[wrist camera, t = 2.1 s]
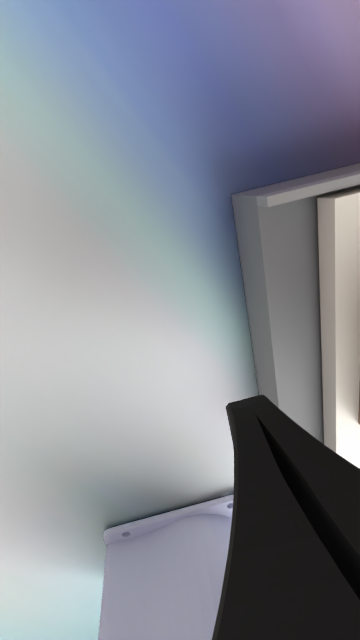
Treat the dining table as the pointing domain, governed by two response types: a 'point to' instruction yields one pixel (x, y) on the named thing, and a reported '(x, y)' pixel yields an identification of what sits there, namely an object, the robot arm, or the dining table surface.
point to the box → (287, 288)
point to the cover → (340, 320)
